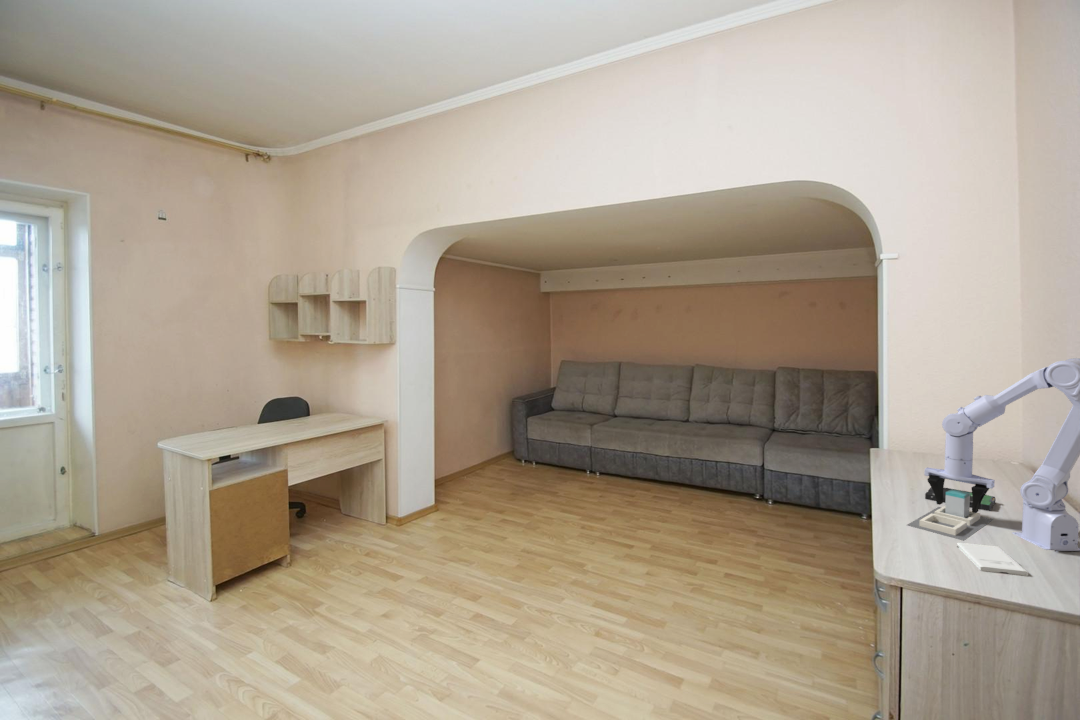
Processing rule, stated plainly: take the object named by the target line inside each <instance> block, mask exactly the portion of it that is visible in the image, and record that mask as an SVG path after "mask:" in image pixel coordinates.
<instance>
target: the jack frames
mask: <svg viewBox="0 0 1080 720" xmlns="http://www.w3.org/2000/svg"><path fill="white" fill-rule="evenodd" d="M980 517H981V512H977V513H973V512H972V510H969V518H963V517H959V516H955V515H951V514H946V513H945V505H943V506H942V508H940V509H938V510H936V511H935V512H934V514H932V513H931V514H929V515H928V516H926V517H924V518H923V519H921V520H919V526H922V527H925V528H929V529H933V530H937V531H940V532H944V533H948V534H952V535H957V534H958V533H960V532H961V531H963V530H964V529H966V528H967V525H968V526H970V525H972V524H973V523H975V522H976V521H978V520H979V519H980ZM932 521H938V522H942V523H946V524H950V525H954V526H955V527H953V528H952V527H948V526H944V525H940V524H936V523H932Z"/></svg>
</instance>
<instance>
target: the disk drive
mask: <svg viewBox="0 0 1080 720" xmlns="http://www.w3.org/2000/svg"><path fill="white" fill-rule="evenodd" d="M950 489H951V488H950V487H949V488H948V487H945V486H944V487H943V503H944V504H945V501H946V492H947V491H948V490H950ZM954 489H955V488H954ZM955 490H957V489H955ZM958 490H959V491H962V490H961V489H958ZM963 491H964V492H969V493H970V507H969V509H972V503H973V497H972V491H967V490H963ZM924 497H925V498H924V499H925V500H929V501H934V502H936V497H935V494H934V492H933V489H932V487H931V486H930V488H928V491H926V493H925V494H924ZM994 505H996V496H993V495H988V494H985V496H984V497H983V499H982V501H981V503H980V506H979V510H982V511H987V512H991V511H992V510H993V508H994Z"/></svg>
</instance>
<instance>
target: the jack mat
mask: <svg viewBox="0 0 1080 720" xmlns="http://www.w3.org/2000/svg"><path fill="white" fill-rule="evenodd" d="M942 507H943V506H942ZM942 507H941V506H937V507H935V508H934V509H932V510H930V511H928V512H927V513H925V514H923V515H922V516H920V517H918V518H917V519H914V520H913V521H910V522H909V523H907V524H906V526H907V527H912V528H916V529H919V530H923V531H925V532H931V533H932V534H933V533H935V534H938V535H941V536H944V537H945V536H946V537H949V538H953V539H957V540H959V541H965V540H967V539H968V538H970V537H972V535H974V534H975V533H977V532H978V531H979V530H980V529H982V528H984V527H986V526H987V524H989V523H991V522H992V521H994V519H992V518H990V517H983V516H980V519H979V520H978V521H976V522H975V523H973V524H972V525H970V526H968V525H967V528H966V529H964V530H963V531H961V532H960V533H958V534H957V535H952V534H948V533H944V532H940V531H937V530H933V529H929V528H925V527H922V526H919V520H921V519H923V518H924V517H926V516H928V515H929V514H931V513H932V514H934V512H935V511H936V510H938V509H940V508H942ZM932 523H936V524H940V525H944V526H948V527H952V528H953V527H955V526H954V525H950V524H946V523H942V522H938V521H932Z"/></svg>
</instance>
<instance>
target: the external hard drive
mask: <svg viewBox="0 0 1080 720" xmlns="http://www.w3.org/2000/svg"><path fill="white" fill-rule="evenodd" d="M956 545H957V546H956V548H957V549H958V550H960V552H962V553H963V555H965V557H966V558H967V559H968V560H969V561H970V562H971V563H973V565H974V566H975V567H976V568H977V569H978V570H979V571H981V572H987V573H988V572H990V573H996V574H1007V575H1016V576H1024V577H1029V571H1027V570H1026V569H1025V568H1024V567H1023V566H1022V565H1021V564H1019V562H1017V561H1016V560H1014V558H1012V557H1011V556H1010V555H1009V554H1008V553H1007V552H1006V551H1005V550H1003V549H1002V548H1001V547H1000V546H998V545H997V546H996V545H986V544H976V543H967V542H966V543H965V542H957V543H956Z"/></svg>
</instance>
